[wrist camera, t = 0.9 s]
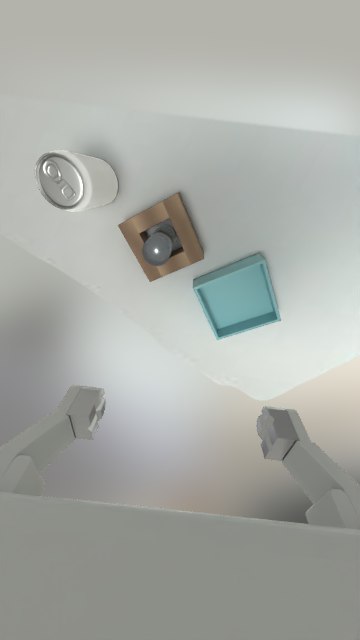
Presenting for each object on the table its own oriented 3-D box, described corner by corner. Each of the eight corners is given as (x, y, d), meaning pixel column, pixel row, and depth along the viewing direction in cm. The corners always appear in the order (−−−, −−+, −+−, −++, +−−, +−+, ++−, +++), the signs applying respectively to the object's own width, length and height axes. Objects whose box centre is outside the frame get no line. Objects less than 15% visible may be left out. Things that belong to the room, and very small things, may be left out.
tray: (259, 253, 39) (264, 259, 36) (274, 310, 45) (280, 320, 42) (193, 279, 43) (193, 287, 39) (215, 329, 49) (217, 340, 45)
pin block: (179, 192, 35) (177, 193, 32) (203, 252, 40) (203, 258, 36) (125, 221, 38) (117, 225, 35) (153, 274, 43) (150, 281, 39)
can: (100, 148, 33) (56, 132, 23) (127, 190, 35) (98, 194, 25) (71, 174, 35) (19, 170, 25) (98, 212, 38) (61, 223, 27)
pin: (170, 221, 37) (161, 232, 29) (179, 243, 39) (174, 259, 31) (150, 231, 39) (136, 245, 30) (160, 252, 40) (150, 270, 32)
